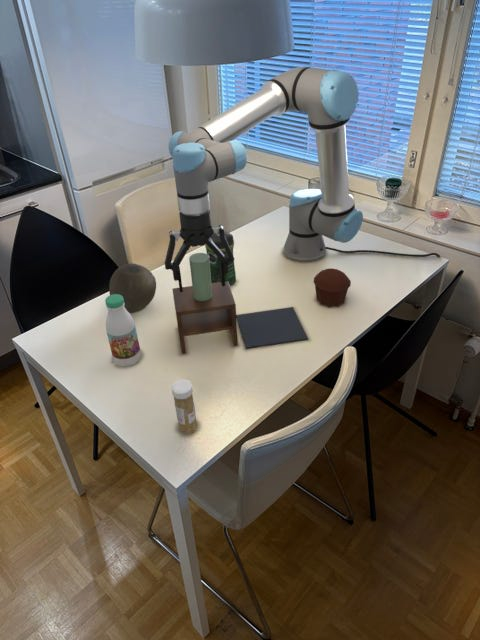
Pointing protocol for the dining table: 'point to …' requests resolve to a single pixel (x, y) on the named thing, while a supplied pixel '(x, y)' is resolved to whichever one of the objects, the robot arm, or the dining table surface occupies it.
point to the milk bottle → (121, 332)
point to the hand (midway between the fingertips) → (202, 286)
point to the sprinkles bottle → (184, 406)
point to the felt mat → (270, 327)
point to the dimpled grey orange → (133, 286)
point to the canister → (201, 276)
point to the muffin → (331, 287)
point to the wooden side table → (205, 312)
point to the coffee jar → (215, 260)
